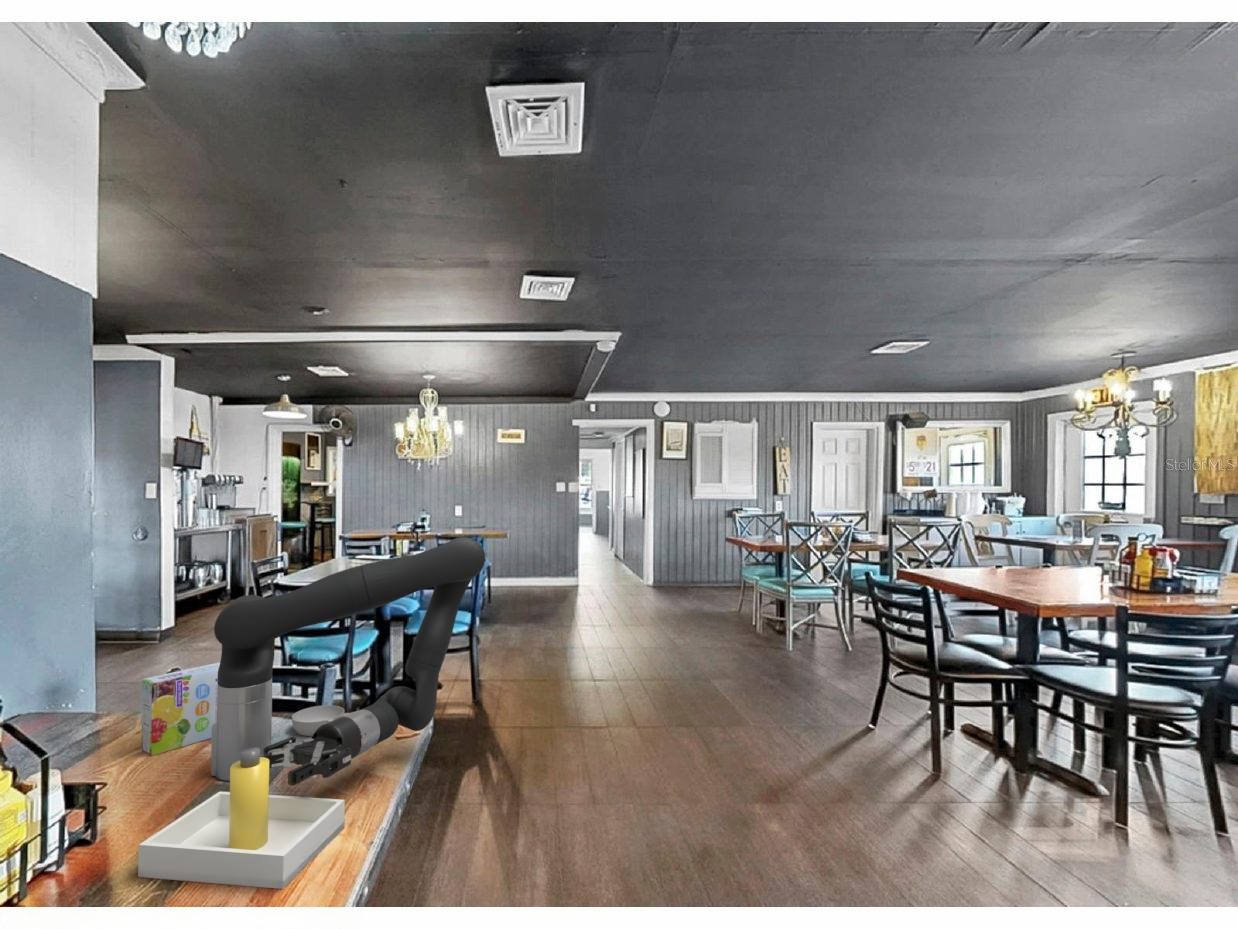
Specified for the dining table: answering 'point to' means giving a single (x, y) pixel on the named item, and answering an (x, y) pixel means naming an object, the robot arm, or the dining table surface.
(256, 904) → the dining table surface
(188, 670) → the snack box
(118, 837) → the dining table surface
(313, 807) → the tray
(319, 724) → the small pan
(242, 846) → the squeeze bottle
